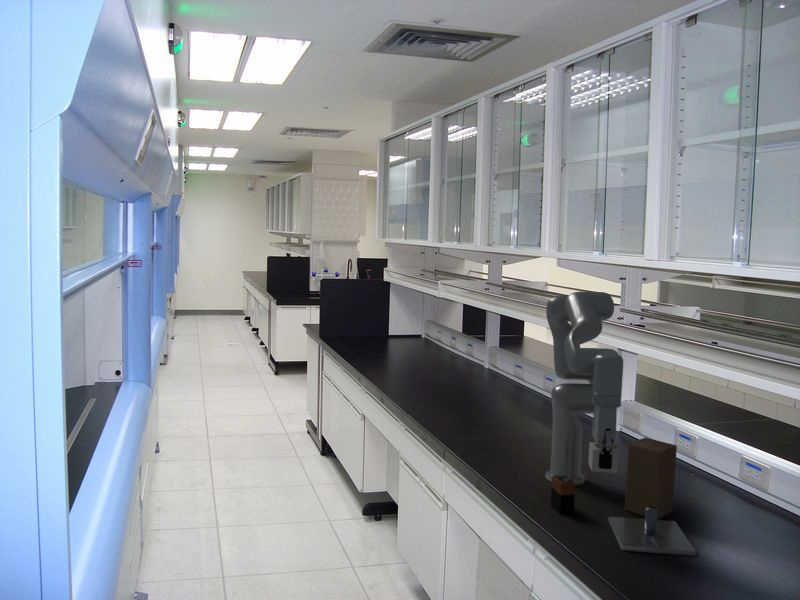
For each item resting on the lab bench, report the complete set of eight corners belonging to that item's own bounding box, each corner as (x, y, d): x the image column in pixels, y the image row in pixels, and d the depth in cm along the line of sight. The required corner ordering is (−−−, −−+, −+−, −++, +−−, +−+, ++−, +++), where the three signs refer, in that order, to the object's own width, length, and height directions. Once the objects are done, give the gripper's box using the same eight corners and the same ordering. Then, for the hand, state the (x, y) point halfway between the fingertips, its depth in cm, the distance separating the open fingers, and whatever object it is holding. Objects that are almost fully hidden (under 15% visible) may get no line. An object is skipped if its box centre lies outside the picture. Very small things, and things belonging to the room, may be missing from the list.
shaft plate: (608, 520, 192) (610, 493, 192) (674, 525, 191) (676, 497, 190) (621, 550, 175) (623, 520, 174) (695, 555, 173) (697, 525, 172)
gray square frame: (588, 463, 191) (589, 440, 190) (613, 464, 190) (614, 441, 189) (591, 471, 184) (593, 447, 183) (617, 473, 183) (618, 449, 183)
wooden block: (672, 512, 200) (677, 445, 198) (656, 521, 193) (661, 452, 191) (640, 501, 207) (644, 436, 205) (623, 510, 200) (628, 443, 198)
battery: (563, 504, 203) (565, 471, 202) (574, 513, 197) (576, 479, 196) (549, 505, 202) (551, 472, 201) (560, 514, 196) (562, 480, 195)
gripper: (587, 391, 194) (584, 453, 196) (596, 406, 177) (593, 473, 179) (615, 392, 193) (611, 454, 195) (627, 408, 176) (623, 476, 178)
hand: (602, 463), depth 187 cm, fingers closed on gray square frame, 6 cm apart
